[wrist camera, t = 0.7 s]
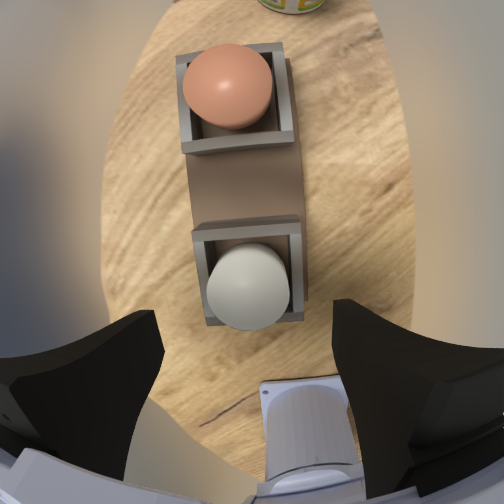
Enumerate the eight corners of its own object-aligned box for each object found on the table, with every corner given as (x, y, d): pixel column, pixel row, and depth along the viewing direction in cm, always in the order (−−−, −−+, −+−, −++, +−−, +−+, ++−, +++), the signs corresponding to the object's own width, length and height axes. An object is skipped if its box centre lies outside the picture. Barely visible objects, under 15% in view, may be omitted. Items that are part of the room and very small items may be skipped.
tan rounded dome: (274, 126, 14) (276, 118, 11) (198, 134, 14) (185, 128, 12) (267, 57, 12) (267, 40, 10) (192, 67, 13) (180, 52, 10)
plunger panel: (305, 293, 20) (313, 320, 16) (209, 299, 21) (197, 327, 17) (288, 64, 16) (293, 40, 12) (184, 76, 16) (165, 57, 12)
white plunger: (287, 306, 16) (291, 328, 14) (219, 310, 17) (213, 332, 14) (284, 239, 15) (287, 252, 13) (210, 245, 16) (200, 258, 13)
